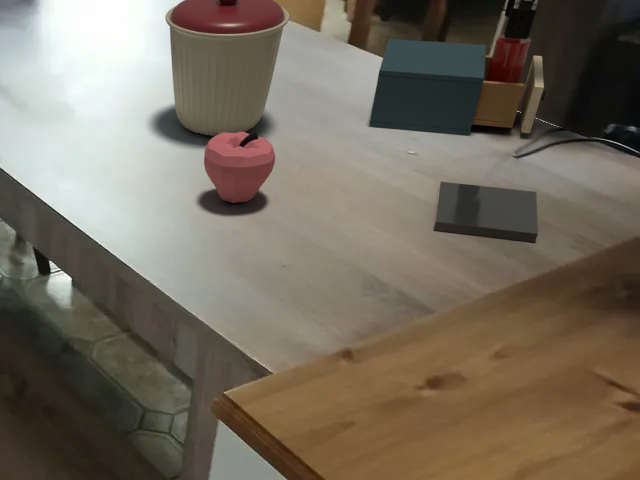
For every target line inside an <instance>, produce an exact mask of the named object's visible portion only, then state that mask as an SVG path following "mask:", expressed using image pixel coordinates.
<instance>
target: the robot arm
mask: <svg viewBox="0 0 640 480" xmlns="http://www.w3.org/2000/svg"><path fill="white" fill-rule="evenodd" d="M538 2H539V0H507V3H506V7H505V10H504V16H505V17H507V18H508V20H507V21H506V27H505V30H504V37H505V38H513V39H527V38H528V37H529V36H530V35H531V30H532V28H533V27H532V26H533V24H534V20H535V17H536V13H537V10H538V9H537V7H538ZM529 38H530V37H529Z"/></svg>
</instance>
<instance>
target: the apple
mask: <svg viewBox="0 0 640 480" xmlns="http://www.w3.org/2000/svg"><path fill="white" fill-rule="evenodd" d="M275 161H276V154H275V150H274V147H273V144H272V143H271V142H269V140H268V139H266V138H265V137H263V136H260V135H259V133H258V131H256V130H254V131H253V132H251V133H248V132H238V133H225V132H222V133H220V134H218V135H216V136H212V138H211V139H210V140H208V142H207V144H206V146H205V148H204V156H203V165H204V171H205V173H206V175H207V176H208V178H209V180H210V181H211V183H212V185H213V186H214V189H215V190H216V192H217V193H218V195H219V197H220V199H221V201H224V202H228V203H231V204H236V203H246V202H249V201H250V200H252V199H253V198H254V197H255V196H256V194H258V192H259V190H260V188H261V187H262V186H263V184H264V183H265V182H266V181H267V179H268V178H269V177H270V175H271V173H272V172H273V170H274V166H275V164H276V162H275Z"/></svg>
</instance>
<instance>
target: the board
mask: <svg viewBox="0 0 640 480" xmlns="http://www.w3.org/2000/svg"><path fill="white" fill-rule="evenodd" d="M537 200H538V199H537V191H533V190H525V189H524V190H523V189H514V188H504V187H497V186H496V187H495V186H486V185H477V184H466V183H458V182H449V181H440V182H439V186H438V191H437V199H436V206H435V214H434V222H433V231H437V232H438V231H439V232H446V233H456V234H462V235H469V236H470V235H472V236H477V237H478V236H479V237H488V238H494V239H495V238H497V239H503V240H510V241H511V240H513V241H522V242H529V243H536V242H537V239H538V235H539V229H538V228H539V224H538V204H537V203H538V201H537Z"/></svg>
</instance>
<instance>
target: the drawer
mask: <svg viewBox="0 0 640 480" xmlns="http://www.w3.org/2000/svg"><path fill="white" fill-rule="evenodd" d="M492 56H493V55H488V54H486V57H485V73H484V81H483V84H482V88H481V92H480V96H479V100H478V103H477V107H476V111H475V115H474V119H473V122H472V125H474V126H475V125H476V126H488V127H496V128H497V127H498V128H508V129H509V128H511V129H512V128H513V127H514V123H515V120H516V116H517V112H518V109H519V107H520V133H521V134H530V133H531V131H532V128H533V125H534V121H535V118H536V115H537V111H538V109H539V106H540V101H544V100H545V98H546V94H547V88H545V85H544V84H545V83H544V81H545V80H544V67H543V56H542V55H533V57H532V59H531V63H530V66H529V70H528V73H527V77H526V79H525V83H521V82H519V83H507V82H494V81H486V78H487V75H488V71H489V67H490V63H491V60H492ZM519 105H520V106H519Z"/></svg>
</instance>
